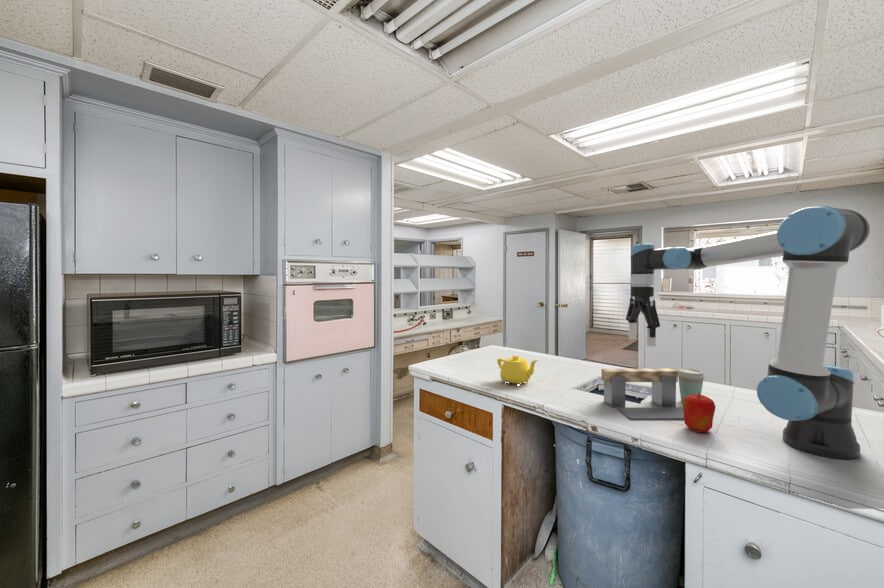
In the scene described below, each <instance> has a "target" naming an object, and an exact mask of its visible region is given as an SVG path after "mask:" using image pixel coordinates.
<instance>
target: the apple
mask: <svg viewBox="0 0 884 588" xmlns="http://www.w3.org/2000/svg"><path fill="white" fill-rule="evenodd" d="M681 404H682V407H683V412H684V420H683V421H684V424H685V426H686V427H687V428H689V429H690V430H692V431H694V432H697V433H707V432H709V431H710V430H712V428H713V422H714V416H715V412H716V404H715V400H713V399H711V398H710V397H708V396H707V395H703V394H701V395H700V393H699V394H694V395H688V396H686V397H685V398H684V400H683V401H682V402H681Z"/></svg>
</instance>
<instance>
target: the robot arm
mask: <svg viewBox="0 0 884 588" xmlns="http://www.w3.org/2000/svg"><path fill="white" fill-rule="evenodd" d="M870 228H871V227H870V223H869V221H868V219H867V218H866V217H865V216H864V215H863V214H861V213H859V212H858V211H855V210H851V209H846V208H838V207H832V206H829V205H827V206H825V205H823V206H822V205H821V206H820V205H818V206H809V207H808V206H807V207H803V208H801V209H798V210H796V211H794V212H792V213H790V214H789V215H788V216H786V217H785V218H784V219H783V220H782V221H781V222H780V225H779V226H778V229H777V231H771V232H767V233H762V234H757V235H752V236H747V237H741V238H737V239H731V240H727V241H726V240H725V241H721V242H717V243H711V244H706V245H702V246H701V245H699V246H696V247H684V246H672V247H663V248H662V247H661V248H655V245H654V243H637V244H634V245H632V246H631V254H630V263H631V264H630V266H631V271H630V285H631V287H630V296H631V297H630V298H629V305H628V310H627V313H626V317H625V320H626V321H627V322H628V340H629V341H630V340H631V341H632V340H636V341H637V338H638V336H637V335H638V333H637V332H638V328H637V327H638V320H637V319H638V318H639V315H640V313H642V314H643V317H644V320H645V322H646V324H647V326H646V347H656V337H657V336H656V334H657V330H656V329H658V328H660V327H661V323H660V320H659V316H658V315H659V314H658V311H657V307H656V300H655V299H650V298H652V297H654V296H655V295H654V294H655V288H654V286H653V285H654V282H655V270H656V271H657V270H665V271H666V270H673V271H675V270H677V271H679V270H694V271H695V270H702V269H706V268H710V267H716V266H724V265H729V264H730V265H731V264H736V263H737V264H738V263H744V262H750V261H751V262H753V261H758V260H766V259H771V258H772V259H773V258H778V257H779V258H780V257H782V262H783V264H785V265H786V266H787V267H788V269H789V271H788V275H787V276H788V277H787V285H786V291H785V297H784V298H785V299H784V300H785V301H784V306H783V313H782V314H783V315H782V322H781V328H780V329H781V330H780V335H779V341H778V343H779V344H778V350H777V356H776V357H775V358H773V359H771V360H770V361H769V362H768V367H767V373H766V374H767V375H766V376H765V377H764V378H761V380H760V381H759V382H758V384H757V386H756V396H757V398H758V401H759V403H760V404H761V405H763V407H764V408H765V410H766V411H768V412H769V413H770V414H772V415H773V416H774V417H777V418H780V419H782V420H786V421H787V423H786V426H785V427H784V428H783V430H782V441H784V442H785V443H786V444H788V445H789V446H792V447H793V448H795V449H798V450H801V451H803V452H807V453H810V454H814V455H816V456H821V457H828V458H832V459H833V458H834V459H839V460H841V459H842V460H854V459H858V458H860V457H861V444H860V443H859V442H858V441H857V440H858V439H857V436H856V433H855V430H854V427H853V425H852V424H853V423H852V421H853V420H852V419H853V418H852V417H853V400H854V399H853V398H854V397H853V396H854V395H853V394H854V393H853V392H854V384H855V381H854V374H853V372H852V371H851V370H850V369H848V368H846V367H840V366H834V365H828V364H824V362H825V361H824V360H825V354H826V347H827V340H828V334H829V329H830V321H831V314H832V308H833V302H834V301H833V300H834V295H835V287H836V281H837V275H838V271H839V269H841V268H843V267H844V266H846V265H847V264H848V263H849V258H850V252H852V251H854V250H856V249H858V248H860V247H861V246H862V245H863V244H864V243H865V242H866V240H868V238H869V236H870V231H871V229H870Z"/></svg>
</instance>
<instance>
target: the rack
mask: <svg viewBox="0 0 884 588" xmlns="http://www.w3.org/2000/svg"><path fill="white" fill-rule="evenodd" d="M626 383H627V382H626V377H625V376H610V382H605V381H603V402H604V401H605V402H606V403H605V402H604V403H605V404H606V405H608V406H609V408H611V407H626V386H627V385H626ZM651 402H652V403H654V404H655V405H657V406H658V407H677V382H676V376H661V382H651Z"/></svg>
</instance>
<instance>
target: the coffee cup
mask: <svg viewBox="0 0 884 588" xmlns="http://www.w3.org/2000/svg"><path fill="white" fill-rule="evenodd" d="M677 371H678V386H679V396H680V402H681V403H682V401H683V400H684V398H685V397H686V396H688V395H694V394H699V393H700V395H702V392H703V385H704V379H705V376H704V372H703V371H701V370H698V369H692V368H680V369H679V370H677Z"/></svg>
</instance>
